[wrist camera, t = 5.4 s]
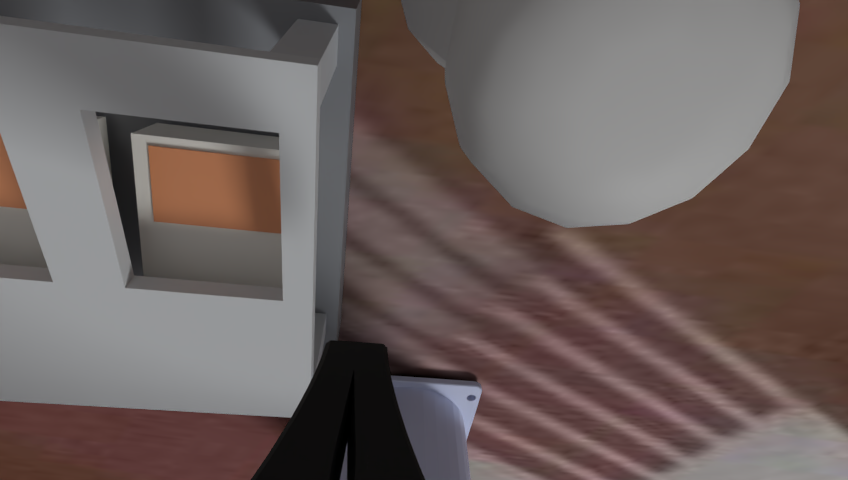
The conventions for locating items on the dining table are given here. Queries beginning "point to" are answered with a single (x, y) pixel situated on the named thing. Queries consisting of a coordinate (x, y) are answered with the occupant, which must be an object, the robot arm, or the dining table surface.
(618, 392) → the dining table surface
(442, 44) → the salt shaker
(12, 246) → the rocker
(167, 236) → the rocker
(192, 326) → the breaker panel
